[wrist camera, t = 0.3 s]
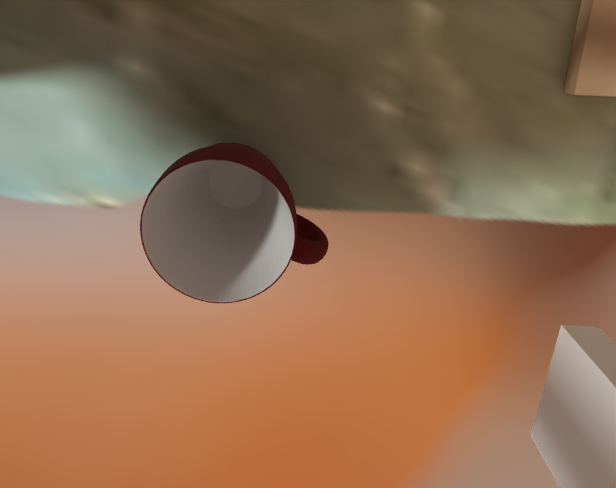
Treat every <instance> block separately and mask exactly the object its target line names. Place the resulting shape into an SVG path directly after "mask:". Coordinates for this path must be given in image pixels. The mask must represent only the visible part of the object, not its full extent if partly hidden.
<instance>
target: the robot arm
mask: <svg viewBox="0 0 616 488" xmlns="http://www.w3.org/2000/svg"><path fill="white" fill-rule="evenodd" d="M530 436H531V438H532V440H533V441H534V443H535V445H536V447H537V448H538V450H539V452H540V453H541V455H542V457H543V459H544V461H545V463H546V464H547V466H548V468H549V470H550V471H551V473H552V475H553V477H554V478H555V480H556V482H557V484H558V486H559V487H560V488H616V344H615V343H614V342H613V341H612V340H611V339H610V338H609V337H608V336H607V335H606V334H605V333H604V332H603V331H602V330H601V329H600V328H599V327H587V326H570V325H561V328H560V332H559V335H558V339H557V342H556V346H555V350H554V353H553V357H552V360H551V364H550V367H549V371H548V375H547V378H546V382H545V385H544V389H543V392H542V396H541V400H540V404H539V407H538V410H537V414H536V418H535V421H534V425H533V428H532V432H531V435H530Z"/></svg>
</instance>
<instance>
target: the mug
mask: <svg viewBox="0 0 616 488" xmlns="http://www.w3.org/2000/svg"><path fill="white" fill-rule="evenodd" d="M140 232H141V240H142V245H143V248H144V251H145V254H146V256H147V258H148V260H149V262H150V264H151V265H152V267H153V268H154V270H155V271H156V272H157V273H158V274H159V276H160V277H161V278H162V279H163V280H164V281H165V282H166V283H168V284H169V285H170V286H171V287H173V288H174V289H176V290H177V291H179V292H181V293H182V294H184V295H187V296H189V297H191V298H194V299H198V300H201V301H205V302H211V303H232V302H238V301H243V300H246V299H249V298H252V297H254V296H256V295H258V294H260V293H262V292H264V291H265V290H267V289H268V288H269V287H271V286H272V285H273V284H274V283H275V282H276V281H277V280H278V279H279V278H280V277H281V276H282V274H283V273H284V272H285V270H286V268H287V267H288V265H289V263H290V260H292V261H295V262H298V263H301V264H315V263H317V262H319V261H320V260H321V259H323V257H324V256H325V254H326V252H327V249H328V240H327V237H326V235H325V234H324V232H322V230H321V229H320V228H318V227H317V226H316V225H315V224H314V223H312V222H311V221H309V220H307V219H305V218H303V217H302V216H300V215H298V214H296V209H295V203H294V200H293V196H292V194H291V191H290V189H289V187H288V185H287V183H286V181H285V180H284V178H283V177H282V175H281V174H280V172H279V171H278V170H277V168H276V167H275V166H274V164H273V163H272V162H271V161H270V160H269V159H268V158H267V157H266V156H265V155H263V154H262V153H261V152H259V151H258V150H256V149H254V148H252V147H249V146H246V145H243V144H238V143H220V144H215V145H212V146H208V147H204V148H201V149H198V150H195V151H193V152H190V153H189V154H187V155H185V156H183V157H181V158H180V159H178V160H177V161H176V162H175V163H173V164H172V165H171V166H170V167H169V168H168V169H167V170H166V171H165V172H164V173H163V174H162V176H161V177H160V178H159V179H158V181H157V182H156V184H155V185H154V187H153V188H152V190H151V191H150V193H149V195H148V197H147V199H146V201H145V204H144V206H143V210H142V214H141V221H140Z"/></svg>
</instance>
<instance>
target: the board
mask: <svg viewBox="0 0 616 488" xmlns="http://www.w3.org/2000/svg"><path fill="white" fill-rule="evenodd" d="M564 92H565V93H569V94H572V95H589V96H616V0H581V5H580V10H579V15H578V21H577V26H576V31H575V36H574V41H573V46H572V51H571V56H570V61H569V66H568V71H567V76H566V82H565V87H564Z"/></svg>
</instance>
